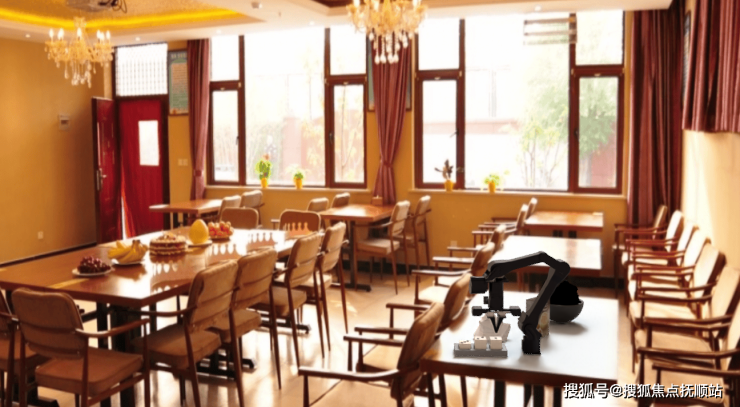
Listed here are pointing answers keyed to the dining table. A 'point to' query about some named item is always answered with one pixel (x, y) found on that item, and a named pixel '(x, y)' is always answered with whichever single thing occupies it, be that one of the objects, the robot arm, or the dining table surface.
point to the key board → (481, 351)
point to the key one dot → (495, 343)
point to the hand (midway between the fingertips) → (496, 332)
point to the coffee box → (541, 317)
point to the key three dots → (464, 344)
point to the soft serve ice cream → (491, 329)
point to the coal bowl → (565, 303)
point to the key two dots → (480, 342)
